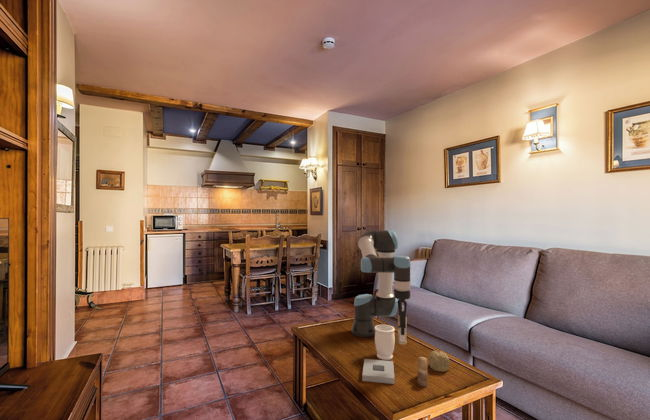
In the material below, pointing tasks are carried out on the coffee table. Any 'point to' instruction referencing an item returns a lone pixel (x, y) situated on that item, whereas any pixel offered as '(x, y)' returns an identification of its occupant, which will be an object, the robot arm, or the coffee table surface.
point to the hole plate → (379, 376)
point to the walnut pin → (422, 378)
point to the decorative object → (439, 361)
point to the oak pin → (422, 364)
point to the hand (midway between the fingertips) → (402, 339)
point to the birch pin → (398, 331)
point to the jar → (384, 341)
